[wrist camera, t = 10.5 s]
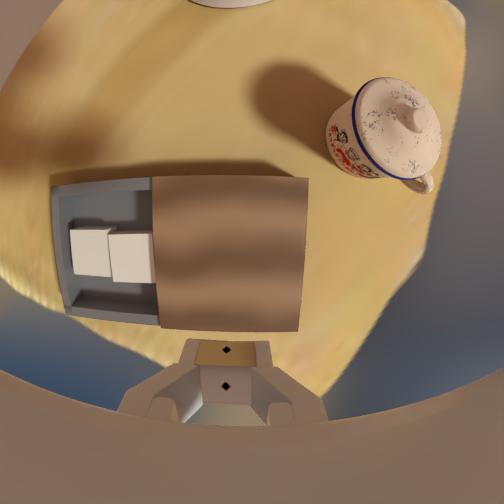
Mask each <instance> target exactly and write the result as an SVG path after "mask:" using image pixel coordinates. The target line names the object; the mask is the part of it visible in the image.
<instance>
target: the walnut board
mask: <svg viewBox="0 0 504 504" xmlns="http://www.w3.org/2000/svg"><path fill="white" fill-rule="evenodd" d="M308 182H309V178H301V177H283V176H257V175H181V176H156V177H152V212H153V243H154V261H155V275H156V287H157V297H158V307H159V316H160V324H161V328H165V329H179V330H197V331H221V332H298V326H299V317H300V307H301V296H302V285H303V273H304V260H305V245H306V229H307V209H308Z"/></svg>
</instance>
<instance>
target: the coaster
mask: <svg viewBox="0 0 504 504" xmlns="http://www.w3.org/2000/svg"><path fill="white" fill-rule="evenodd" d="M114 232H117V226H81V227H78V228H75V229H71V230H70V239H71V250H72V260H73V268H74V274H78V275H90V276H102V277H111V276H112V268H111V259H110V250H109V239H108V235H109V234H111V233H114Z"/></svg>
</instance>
